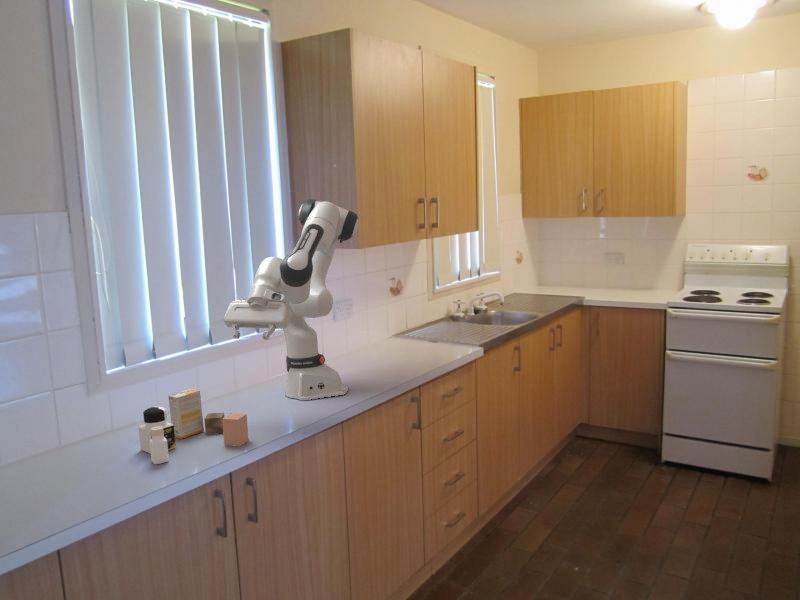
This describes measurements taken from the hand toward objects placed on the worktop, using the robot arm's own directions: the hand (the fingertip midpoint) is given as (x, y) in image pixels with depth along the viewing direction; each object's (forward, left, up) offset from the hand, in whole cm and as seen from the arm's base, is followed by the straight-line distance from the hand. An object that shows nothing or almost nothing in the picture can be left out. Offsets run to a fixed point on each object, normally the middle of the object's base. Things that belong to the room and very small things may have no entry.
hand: (250, 338), depth 196 cm
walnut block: (+13, -1, -28) cm, 31 cm away
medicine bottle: (+27, +11, -29) cm, 41 cm away
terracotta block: (+5, +11, -28) cm, 31 cm away
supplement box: (+21, 0, -29) cm, 35 cm away
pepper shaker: (+24, +21, -29) cm, 43 cm away
